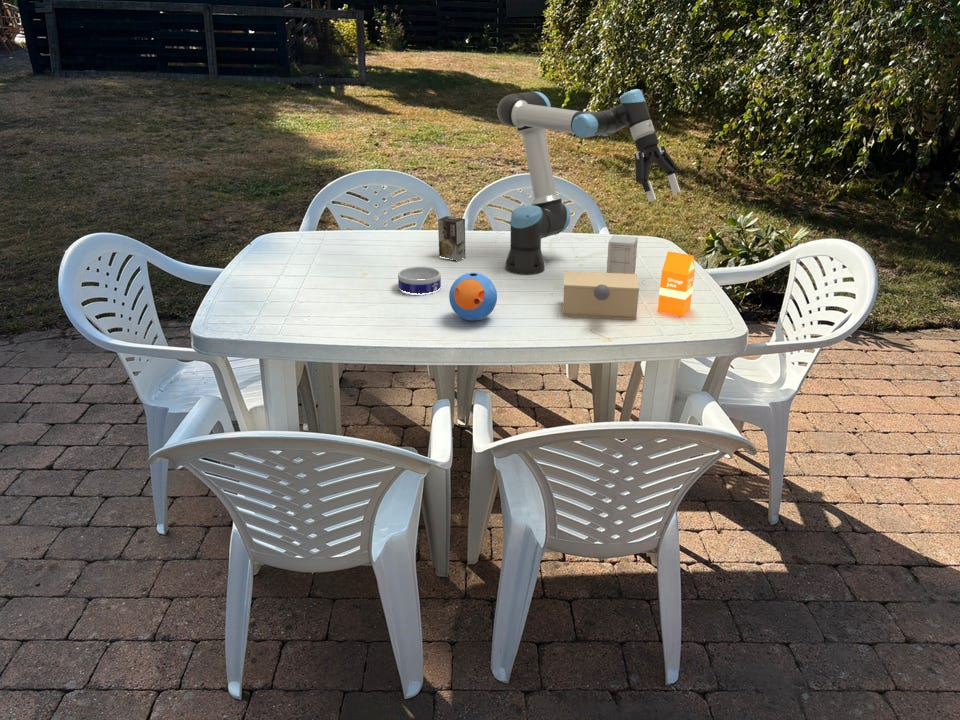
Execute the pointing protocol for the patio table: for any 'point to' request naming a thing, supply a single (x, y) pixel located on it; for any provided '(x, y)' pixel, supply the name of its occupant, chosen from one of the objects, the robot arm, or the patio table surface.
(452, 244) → the coffee box
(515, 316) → the patio table surface
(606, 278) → the carton lid
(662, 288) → the orange juice
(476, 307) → the treat dispenser ball
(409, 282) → the dog bowl
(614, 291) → the carton
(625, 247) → the supplement box
